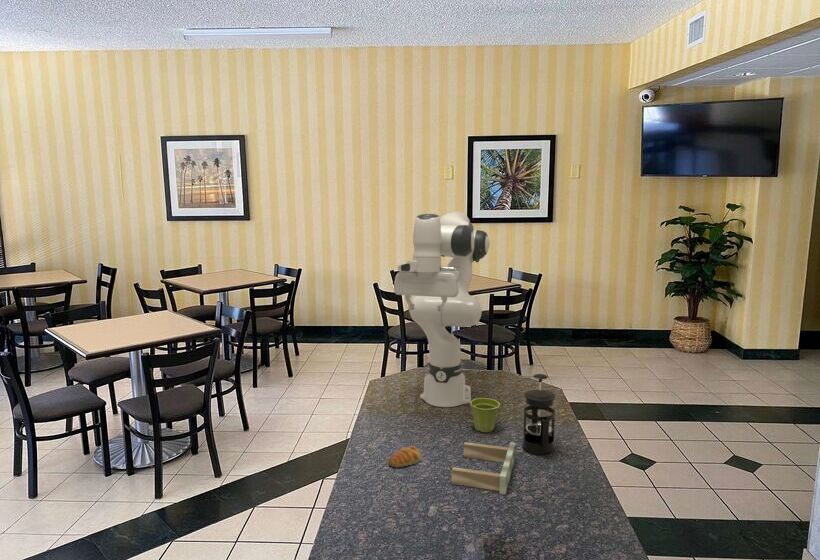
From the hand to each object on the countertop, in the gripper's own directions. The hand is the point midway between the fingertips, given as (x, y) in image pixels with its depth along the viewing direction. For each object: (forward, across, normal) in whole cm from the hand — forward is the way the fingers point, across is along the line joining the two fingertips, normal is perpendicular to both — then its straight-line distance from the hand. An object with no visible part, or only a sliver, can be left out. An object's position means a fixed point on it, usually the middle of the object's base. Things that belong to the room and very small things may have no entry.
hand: (425, 310), depth 186 cm
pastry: (+42, 0, +19) cm, 46 cm away
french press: (+40, -36, +1) cm, 54 cm away
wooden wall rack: (+42, -22, +19) cm, 51 cm away
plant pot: (+39, -18, -9) cm, 44 cm away
